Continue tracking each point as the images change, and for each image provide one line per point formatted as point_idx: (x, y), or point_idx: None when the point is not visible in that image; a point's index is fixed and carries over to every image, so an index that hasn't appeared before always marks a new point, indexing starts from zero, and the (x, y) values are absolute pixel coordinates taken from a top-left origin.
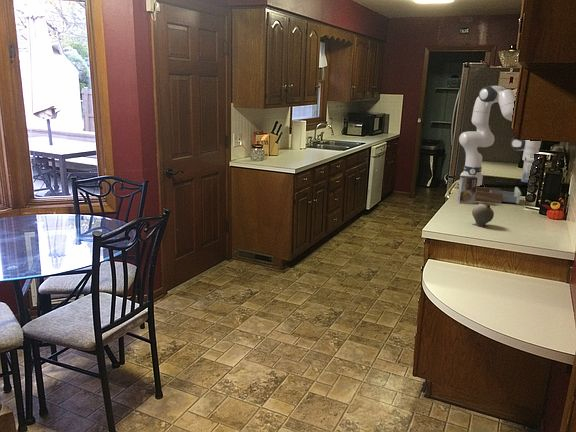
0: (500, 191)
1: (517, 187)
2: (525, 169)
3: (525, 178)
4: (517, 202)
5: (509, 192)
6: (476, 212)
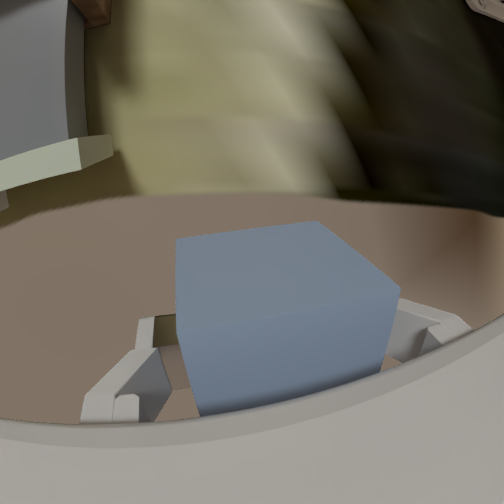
0: (56, 10)
1: (54, 172)
2: (205, 497)
3: None
4: None
5: (53, 92)
6: None
